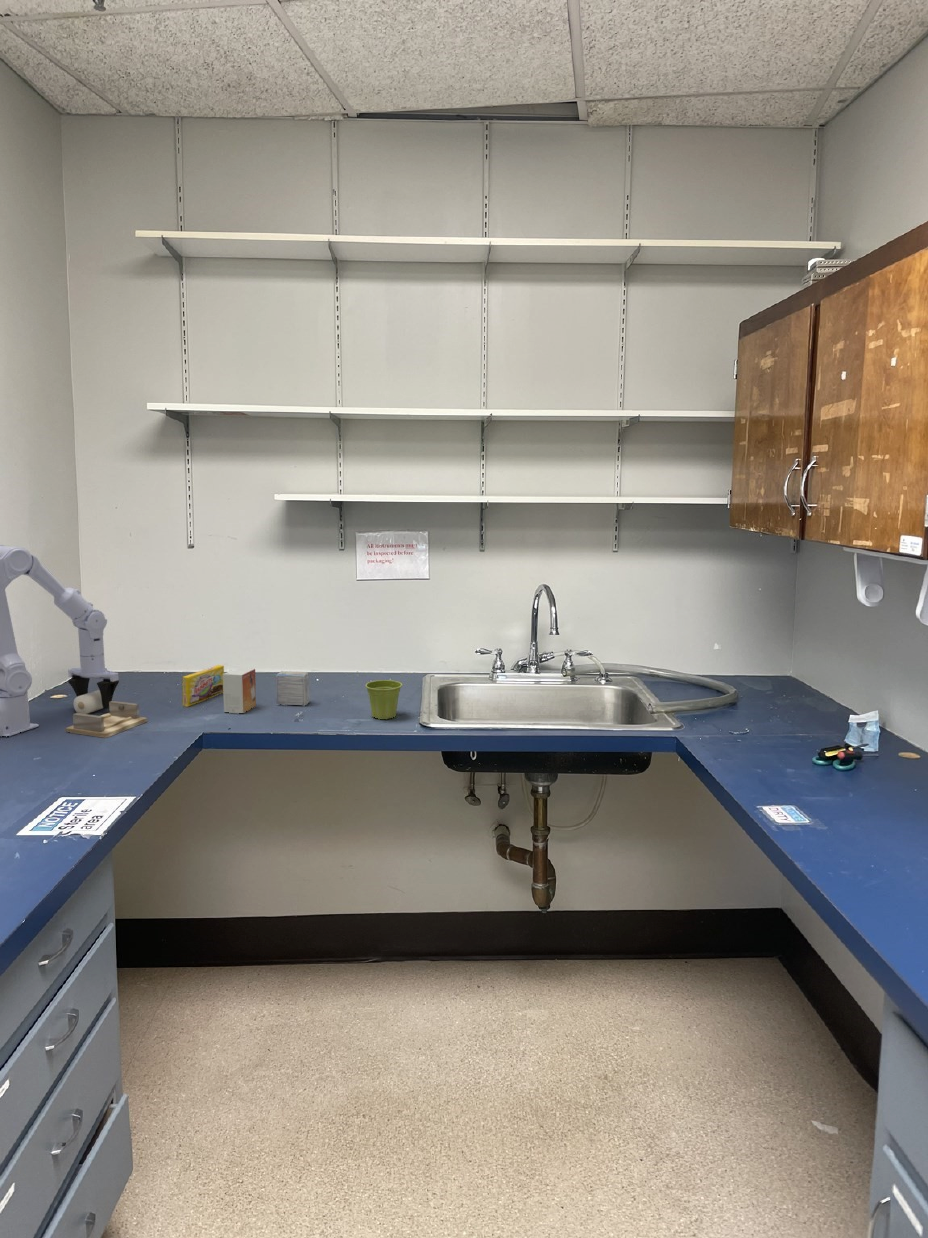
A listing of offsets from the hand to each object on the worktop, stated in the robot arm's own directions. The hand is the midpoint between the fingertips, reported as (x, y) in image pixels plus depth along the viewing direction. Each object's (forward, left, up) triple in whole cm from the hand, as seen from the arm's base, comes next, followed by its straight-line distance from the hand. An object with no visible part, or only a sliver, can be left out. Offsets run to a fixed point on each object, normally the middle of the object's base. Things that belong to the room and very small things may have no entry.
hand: (95, 705), depth 213 cm
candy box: (+20, -19, -2) cm, 28 cm away
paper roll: (0, 0, -1) cm, 1 cm away
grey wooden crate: (+25, -44, -2) cm, 51 cm away
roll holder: (-10, -13, -1) cm, 16 cm away
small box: (+15, -34, -2) cm, 37 cm away
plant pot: (+23, -72, -2) cm, 76 cm away
